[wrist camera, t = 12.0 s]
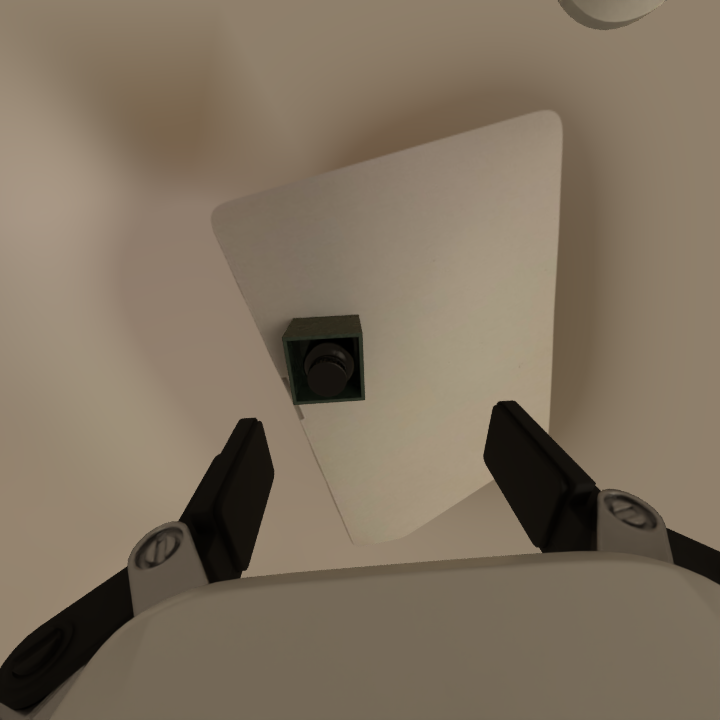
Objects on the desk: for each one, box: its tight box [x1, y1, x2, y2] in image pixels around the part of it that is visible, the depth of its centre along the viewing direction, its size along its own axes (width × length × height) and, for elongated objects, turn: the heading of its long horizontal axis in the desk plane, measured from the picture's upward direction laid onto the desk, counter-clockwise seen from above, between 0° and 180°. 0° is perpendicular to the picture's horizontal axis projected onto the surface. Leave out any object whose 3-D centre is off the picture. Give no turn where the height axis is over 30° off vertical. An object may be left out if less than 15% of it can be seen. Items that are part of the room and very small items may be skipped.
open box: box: [282, 315, 365, 405], centre depth 40 cm, size 10×10×8 cm
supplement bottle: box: [303, 337, 355, 397], centre depth 38 cm, size 7×7×12 cm
